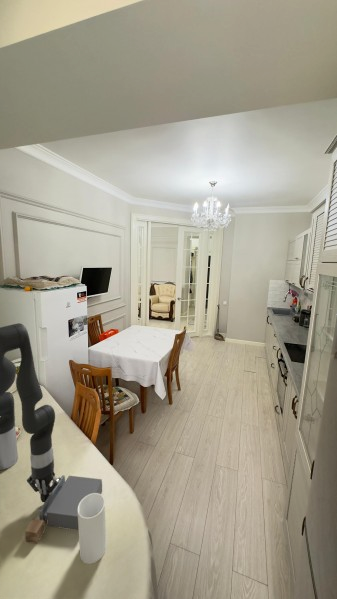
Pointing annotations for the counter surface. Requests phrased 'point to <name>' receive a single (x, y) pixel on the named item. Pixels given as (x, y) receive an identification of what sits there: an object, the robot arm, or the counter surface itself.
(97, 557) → the cup
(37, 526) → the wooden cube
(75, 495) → the housing
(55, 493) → the tray
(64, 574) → the counter surface
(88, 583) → the counter surface
